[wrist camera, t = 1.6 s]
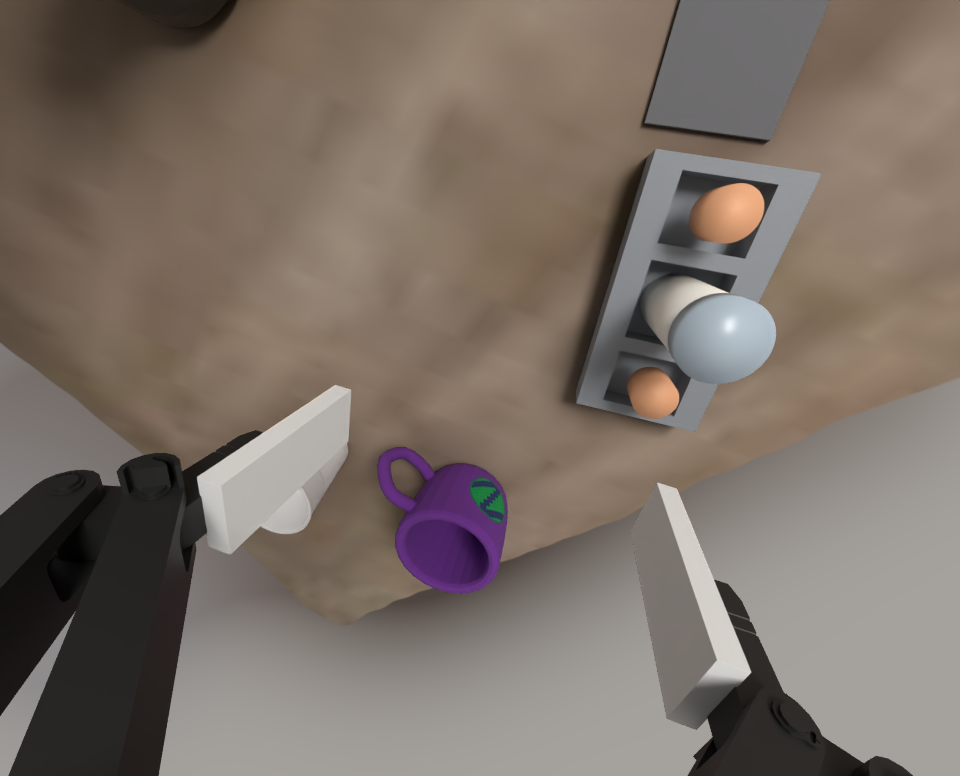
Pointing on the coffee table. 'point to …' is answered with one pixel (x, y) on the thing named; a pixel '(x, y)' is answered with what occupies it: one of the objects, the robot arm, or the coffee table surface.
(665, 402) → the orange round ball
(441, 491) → the mug
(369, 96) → the coffee table surface
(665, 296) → the cylinder
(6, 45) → the coffee table surface
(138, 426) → the coffee table surface
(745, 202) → the orange oval ball
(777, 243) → the tray
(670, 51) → the mat
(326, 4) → the coffee table surface
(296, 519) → the cup
